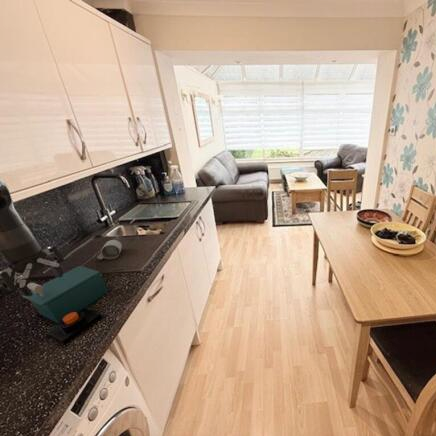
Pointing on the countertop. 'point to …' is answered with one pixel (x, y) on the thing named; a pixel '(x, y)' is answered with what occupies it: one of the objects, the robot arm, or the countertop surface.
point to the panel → (74, 326)
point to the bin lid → (59, 285)
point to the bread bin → (73, 299)
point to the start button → (70, 318)
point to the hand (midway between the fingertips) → (45, 285)
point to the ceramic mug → (110, 250)
